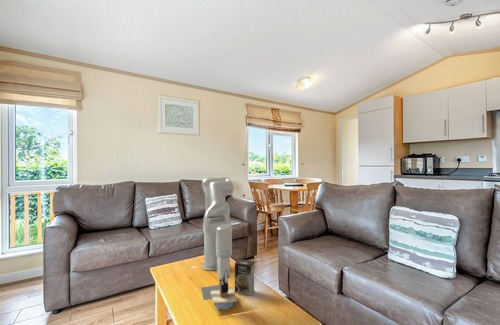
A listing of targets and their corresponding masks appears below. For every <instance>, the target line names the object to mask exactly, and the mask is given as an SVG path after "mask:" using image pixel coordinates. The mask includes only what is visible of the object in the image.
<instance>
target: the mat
mask: <svg viewBox="0 0 500 325" xmlns="http://www.w3.org/2000/svg"><path fill="white" fill-rule="evenodd" d="M219 289H220V284H217V285H210V286H204V287H201V292H202V298H203V301H205V300H210V299H212V296H211V291H213V290H219Z"/></svg>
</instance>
